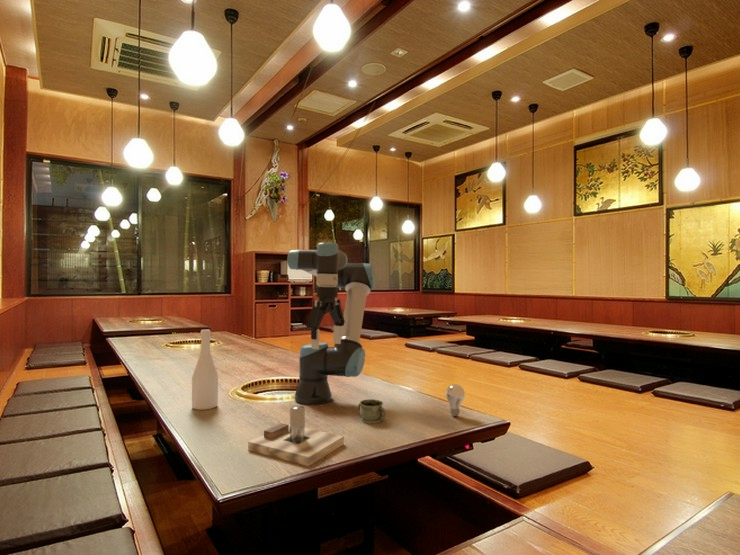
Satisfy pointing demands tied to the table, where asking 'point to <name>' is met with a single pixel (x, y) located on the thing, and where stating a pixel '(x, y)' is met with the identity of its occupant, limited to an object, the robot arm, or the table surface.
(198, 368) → the wine bottle
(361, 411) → the vessel
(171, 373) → the table surface
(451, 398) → the light bulb
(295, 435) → the shiny metal cylinder
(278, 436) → the jig
